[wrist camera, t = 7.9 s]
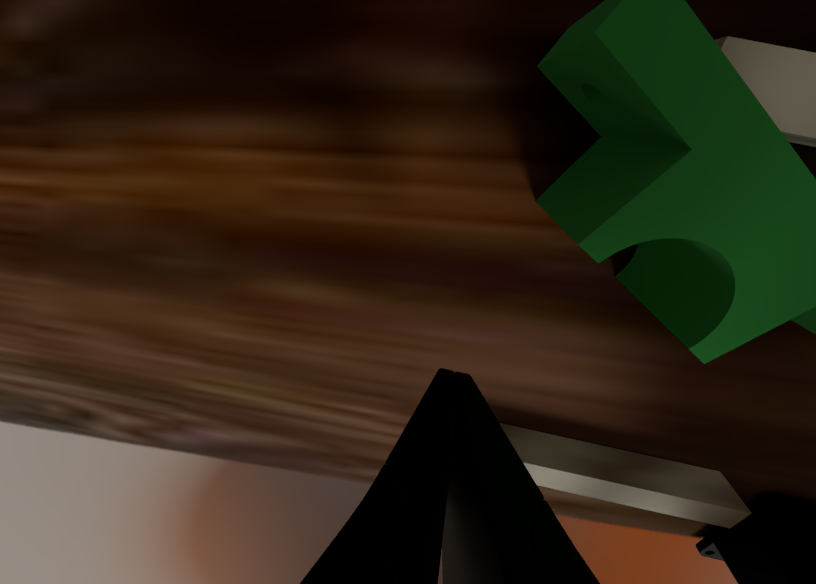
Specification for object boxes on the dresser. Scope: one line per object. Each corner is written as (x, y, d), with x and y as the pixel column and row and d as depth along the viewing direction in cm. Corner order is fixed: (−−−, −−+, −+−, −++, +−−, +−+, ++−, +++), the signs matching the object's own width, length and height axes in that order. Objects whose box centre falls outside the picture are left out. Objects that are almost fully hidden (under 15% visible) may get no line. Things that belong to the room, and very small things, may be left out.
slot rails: (1118, 137, 8) (1292, 142, 7) (702, 486, 17) (729, 528, 15) (672, 51, 9) (727, 35, 7) (486, 438, 17) (490, 474, 16)
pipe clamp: (472, 141, 11) (483, 155, 7) (566, 28, 9) (656, -45, 5) (670, 330, 13) (766, 423, 9) (773, 268, 11) (947, 350, 7)
